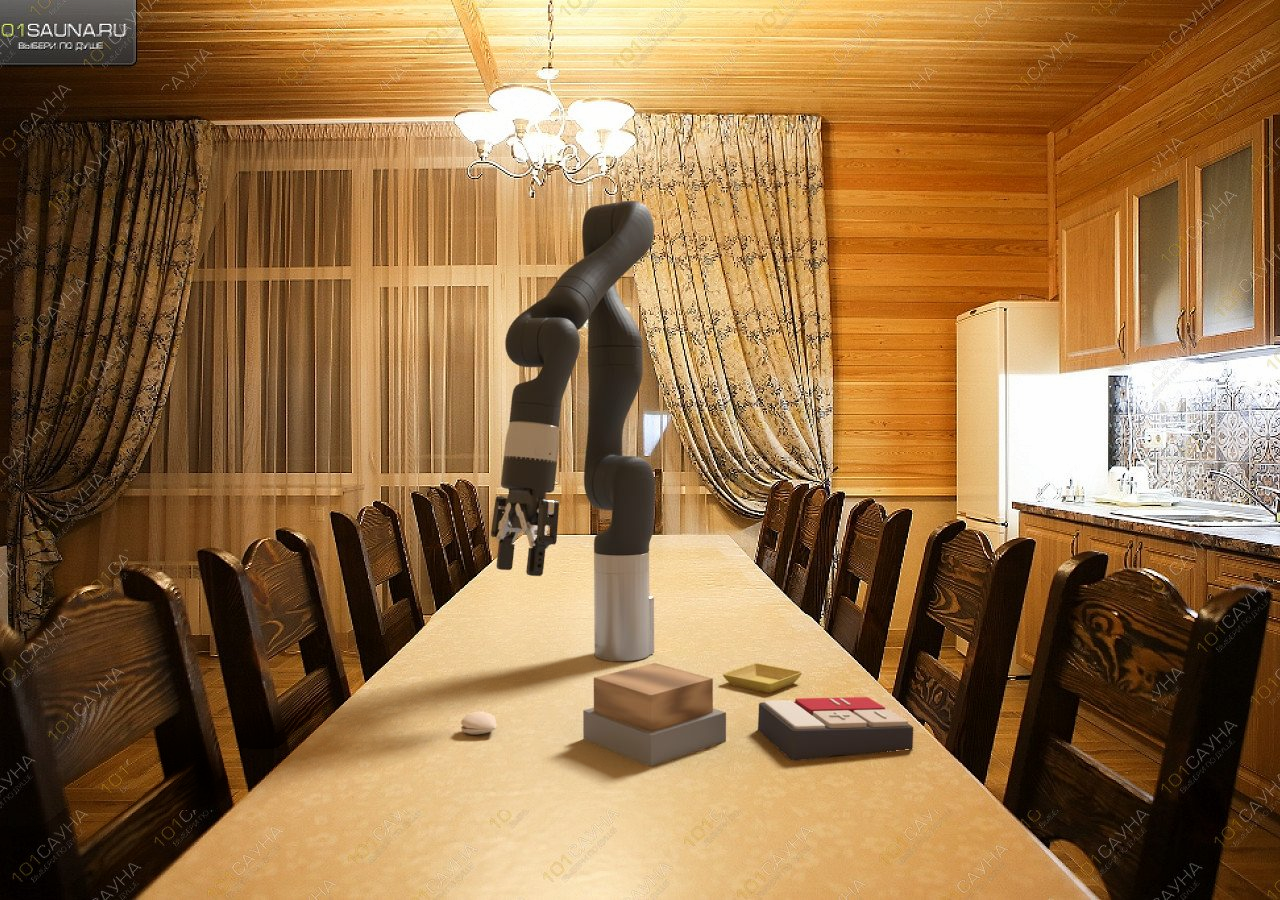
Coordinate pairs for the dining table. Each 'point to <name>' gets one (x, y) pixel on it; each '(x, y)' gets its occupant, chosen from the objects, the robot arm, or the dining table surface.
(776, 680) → the yellow shallow square tray
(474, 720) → the pistachio nut
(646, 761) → the tower base block
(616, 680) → the tower top block
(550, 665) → the dining table surface
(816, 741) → the calculator
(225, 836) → the dining table surface
